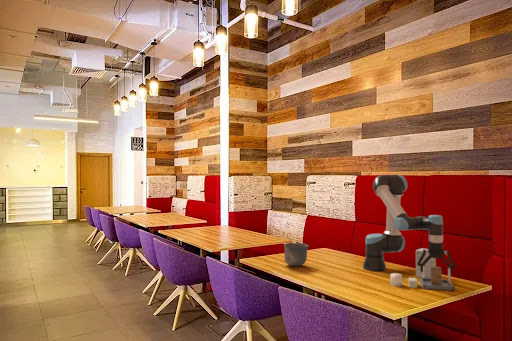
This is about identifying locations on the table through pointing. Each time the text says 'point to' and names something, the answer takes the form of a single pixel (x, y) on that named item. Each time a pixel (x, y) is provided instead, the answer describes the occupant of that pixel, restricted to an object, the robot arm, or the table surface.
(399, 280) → the glossy white capsule
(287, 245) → the bowl
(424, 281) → the tray
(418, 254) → the supplement box
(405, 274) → the table surface
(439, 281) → the walnut block
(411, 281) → the cream box
